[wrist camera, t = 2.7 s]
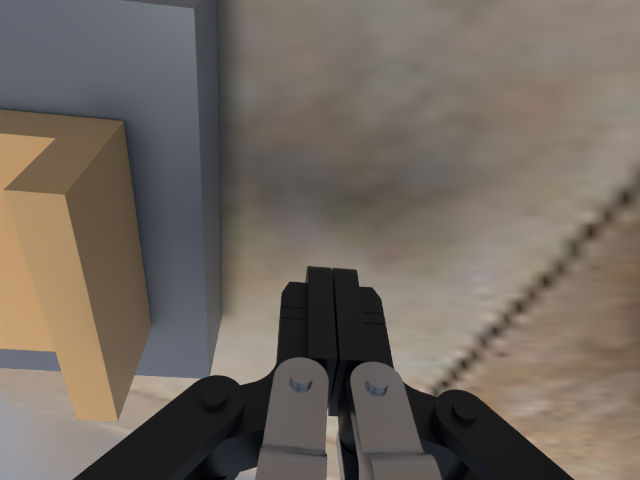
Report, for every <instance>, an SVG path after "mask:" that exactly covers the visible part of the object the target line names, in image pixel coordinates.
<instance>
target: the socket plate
mask: <svg viewBox="0 0 640 480" xmlns="http://www.w3.org/2000/svg"><path fill="white" fill-rule="evenodd" d="M0 109H2V110H12V111H23V112H34V113H44V114H55V115H65V116H76V117H87V118H97V119H108V120H118V121H124V128H125V135H126V143H127V150H128V157H129V164H130V172H131V179H132V186H133V194H134V201H135V208H136V215H137V223H138V230H139V237H140V245H141V252H142V259H143V267H144V274H145V281H146V288H147V296H148V303H149V310H150V318H151V325H152V327H151V330H150V333H149V336H148V339H147V341H146V344H145V347H144V350H143V353H142V355H141V358H140V361H139V364H138V367H137V369H136V372H135V375H145V376H164V377H183V378H205V377H208V376H210V372H211V367H212V362H213V357H214V352H215V347H216V342H217V337H218V332H219V328H220V323H221V318H222V315H221V247H220V180H219V112H218V44H217V0H0ZM0 368H12V369H31V370H50V371H61V368H60V365H59V362H58V359H57V355H56V352H51V351H33V350H15V349H0Z"/></svg>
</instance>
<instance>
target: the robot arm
mask: <svg viewBox="0 0 640 480" xmlns="http://www.w3.org/2000/svg"><path fill="white" fill-rule="evenodd" d="M385 325H386V323H385V317H384V312H383V306H382V301H381V299H380V297H379V296H378V294H377V293H376V292H375V290H374V289H373V288H372V287H359V282H358V274H357V270H354V269H341V268H333V269H331V268H326V267H313V266H308V267H307V273H306V281H305V283H301V282H289V283H288V285H287V286H286V288H285V289H284V290H283V292H282V297H281V308H280V320H279V332H278V347H277V361H276V365H275V367H274V369H273V370H272V371H271V373H270V374H268V375H267V376H266V377H264V378H263V379H261V380H258V381H256V382H252V383H248V384H244V385H239V384H238V383H237V382H236V381H235V380H233V379H231V378H229V377H226V376H220V375H214V376H208V377H205V378H202V379H200V380H198V381H197V382H195V383H194V384H193V385H191V386H190V387H189V388H188V389H186V390H185V391H184V392H183V393H181V394H180V395H179V396H178V397H176V398H175V399H174V400H173V401H171V402H170V403H169V404H167V405H166V406H165V407H164V408H162V409H161V410H160V411H159V412H157V413H156V414H155V415H154V416H152V417H151V418H150V419H149V420H147V421H146V422H145V423H143V424H142V425H141V426H140V427H138V428H137V429H136V430H135V431H133V432H132V433H131V434H130V435H128V436H127V437H126V438H124V439H123V440H122V441H121V442H119V443H118V444H117V445H116V446H115V447H113V448H112V449H111V450H109V451H108V452H107V453H106V454H104V455H103V456H102V457H101V458H99V459H98V460H97V461H95V462H94V463H93V464H92V465H90V466H89V467H88V468H87V469H85V470H84V471H83V472H82V473H80V474H79V475H78V476H76V477H75V478H74V479H73V480H234V479H235V478H236V477H237V476H238V474H239V472H241V471H245V470H248V469H251V468H255V467H257V471H256V477H255V480H326V476H327V454H326V453H325V444H326V424H327V409H328V415H329V416H338V425H339V430H338V434H337V439H336V446H337V454H338V462H339V469H340V477H341V480H574V479H573V478H572V477H571V476H569V475H568V474H567V473H566V472H565V471H564V470H562V469H561V468H560V467H559V466H558V465H556V464H555V463H554V462H553V461H552V460H551V459H549V458H548V457H547V456H546V455H545V454H544V453H542V452H541V451H540V450H539V449H538V448H537V447H535V446H534V445H533V444H532V443H531V442H529V441H528V440H527V439H526V438H525V437H524V436H522V435H521V434H520V433H519V432H518V431H517V430H515V429H514V428H513V427H512V426H511V425H510V424H508V423H507V422H506V421H505V420H504V419H502V418H501V417H500V416H499V415H498V414H497V413H495V412H494V411H493V410H492V409H491V408H490V407H488V406H487V405H486V404H485V403H484V402H483V401H481V400H480V399H479V398H478V397H476V396H475V395H473V394H471V393H469V392H466V391H463V390H448V391H445V392H443V393H442V394H441V395H440V396H439V397H435V396H432V395H429V394H426V393H423V392H420V391H418V390H415V389H413V388H411V387H410V386H408V385H407V384H405V383H404V382H403V380H402V378H401V377H400V375H399V374H398V373H397V372H396V371H395V369H394V366H393V361H392V356H391V350H390V345H389V339H388V334H387V328H386V326H385Z"/></svg>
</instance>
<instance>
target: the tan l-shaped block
mask: <svg viewBox="0 0 640 480" xmlns="http://www.w3.org/2000/svg"><path fill="white" fill-rule="evenodd" d="M151 327H152V325H151V318H150V310H149V303H148V296H147V288H146V281H145V274H144V267H143V259H142V252H141V245H140V237H139V230H138V223H137V215H136V208H135V201H134V194H133V186H132V179H131V172H130V164H129V157H128V150H127V143H126V135H125V128H124V121H118V120H108V119H97V118H87V117H76V116H65V115H55V114H44V113H34V112H23V111H12V110H2V109H0V349H15V350H33V351H51V352H56V355H57V359H58V362H59V365H60V368H61V371H62V374H63V377H64V380H65V384H66V387H67V390H68V393H69V396H70V399H71V402H72V405H73V409H74V412H75V415H76V418H77V420H100V421H118V420H119V417H120V414H121V411H122V409H123V406H124V403H125V400H126V397H127V395H128V392H129V389H130V386H131V383H132V381H133V378H134V375H135V372H136V369H137V367H138V364H139V361H140V358H141V355H142V353H143V350H144V347H145V344H146V341H147V339H148V336H149V333H150V330H151Z"/></svg>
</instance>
